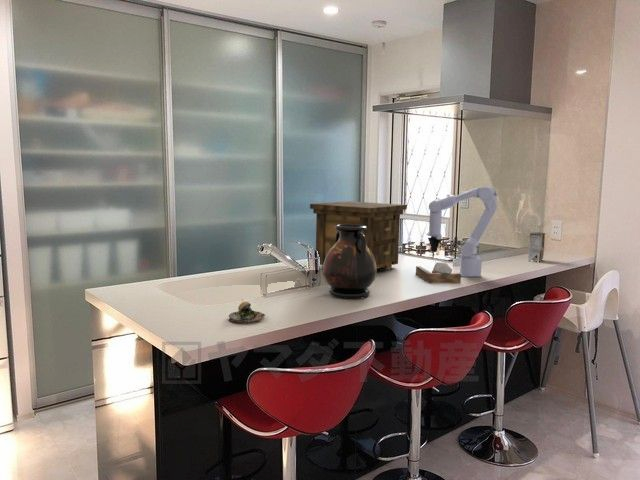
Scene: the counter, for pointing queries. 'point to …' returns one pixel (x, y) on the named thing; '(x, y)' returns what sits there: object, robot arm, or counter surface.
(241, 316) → the mossy rock
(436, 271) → the grey rock
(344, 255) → the amphora vase
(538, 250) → the coffee box
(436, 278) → the arena
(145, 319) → the counter surface
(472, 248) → the robot arm
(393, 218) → the crate
